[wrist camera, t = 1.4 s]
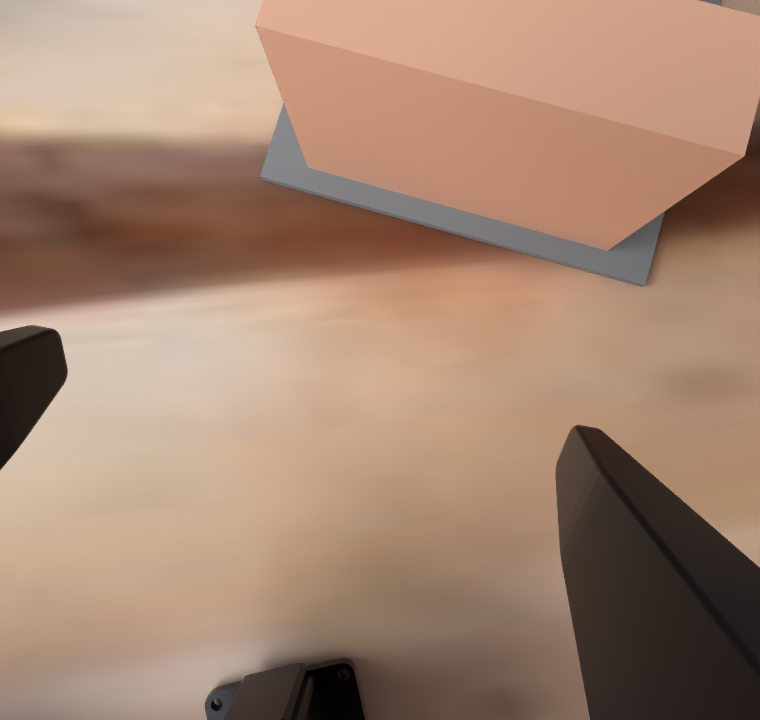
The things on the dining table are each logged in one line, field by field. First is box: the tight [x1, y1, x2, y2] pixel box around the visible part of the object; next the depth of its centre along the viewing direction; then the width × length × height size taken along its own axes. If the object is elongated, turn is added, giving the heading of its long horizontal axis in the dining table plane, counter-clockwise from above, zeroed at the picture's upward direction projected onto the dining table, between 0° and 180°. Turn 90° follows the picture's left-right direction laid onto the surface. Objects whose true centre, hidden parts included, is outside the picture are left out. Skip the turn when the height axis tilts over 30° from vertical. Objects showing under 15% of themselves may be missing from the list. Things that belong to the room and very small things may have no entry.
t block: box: [255, 0, 760, 251], centre depth 19 cm, size 13×14×9 cm
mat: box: [260, 0, 721, 286], centre depth 24 cm, size 23×18×1 cm
